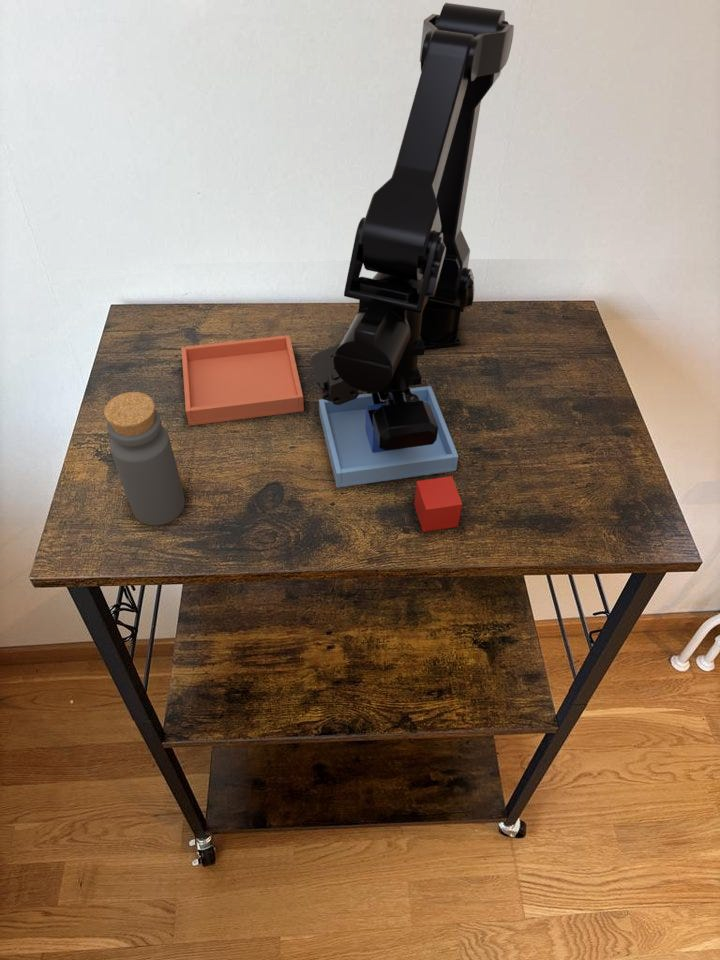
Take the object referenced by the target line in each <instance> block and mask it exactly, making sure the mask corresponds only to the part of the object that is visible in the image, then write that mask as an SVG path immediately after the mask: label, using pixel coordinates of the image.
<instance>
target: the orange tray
mask: <svg viewBox="0 0 720 960" xmlns="http://www.w3.org/2000/svg"><path fill="white" fill-rule="evenodd" d="M181 362H182V374H183V376H182V377H183V391H184V406H185V413H186V419H187V422H188V426H189V427H191V426H198V425H206V424H214V423H223V422H229V421H237V420H239V421H240V420H245V419H253V418H263V417H270V416H277V415H278V416H279V415H285V414H286V415H287V414H294V413H301V412H302V413H303V412H305V405H304V404H305V403H304V395H303V389H302V385H301V380H300V376H299V371H298V366H297V363H296V362H297V361H296V358H295V353H294V349H293V344H292V340H291V336H290V334H287V335H286V334H285V335H277V336H269V337H260V338H258V337H257V338H250V339H240V340H231V341H223V342H213V343H206V344H205V343H204V344H197V345H187V346H181Z"/></svg>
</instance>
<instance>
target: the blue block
mask: <svg viewBox="0 0 720 960" xmlns="http://www.w3.org/2000/svg"><path fill="white" fill-rule="evenodd" d="M382 405H387V403H383V404H375V405H367V406H366V424H365V430H366V433H367V437H368V440H369V444H370V447H371V450H372V453H373V452H381V451H385V450H383V449H381V448H379V445H378V442H377V439H376V435H375V432H374V427H373V426H372V423H371V419H370V416H369V413H368V410H375V409H378V408H380V407H381V406H382Z"/></svg>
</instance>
